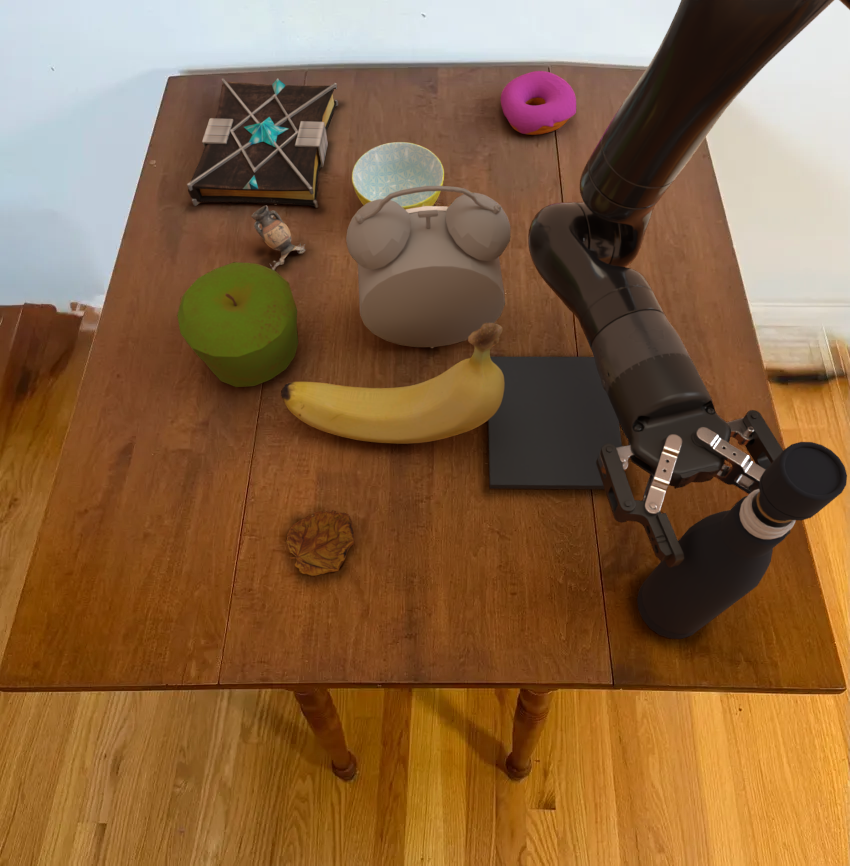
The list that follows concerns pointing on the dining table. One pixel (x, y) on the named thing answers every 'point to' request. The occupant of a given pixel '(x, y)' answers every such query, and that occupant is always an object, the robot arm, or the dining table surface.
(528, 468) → the mat
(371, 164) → the bowl
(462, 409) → the banana
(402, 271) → the alarm clock
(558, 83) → the donut
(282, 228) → the vase
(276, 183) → the book
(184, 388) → the dining table surface
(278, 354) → the apple
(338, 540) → the leaf
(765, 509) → the insulated water bottle
